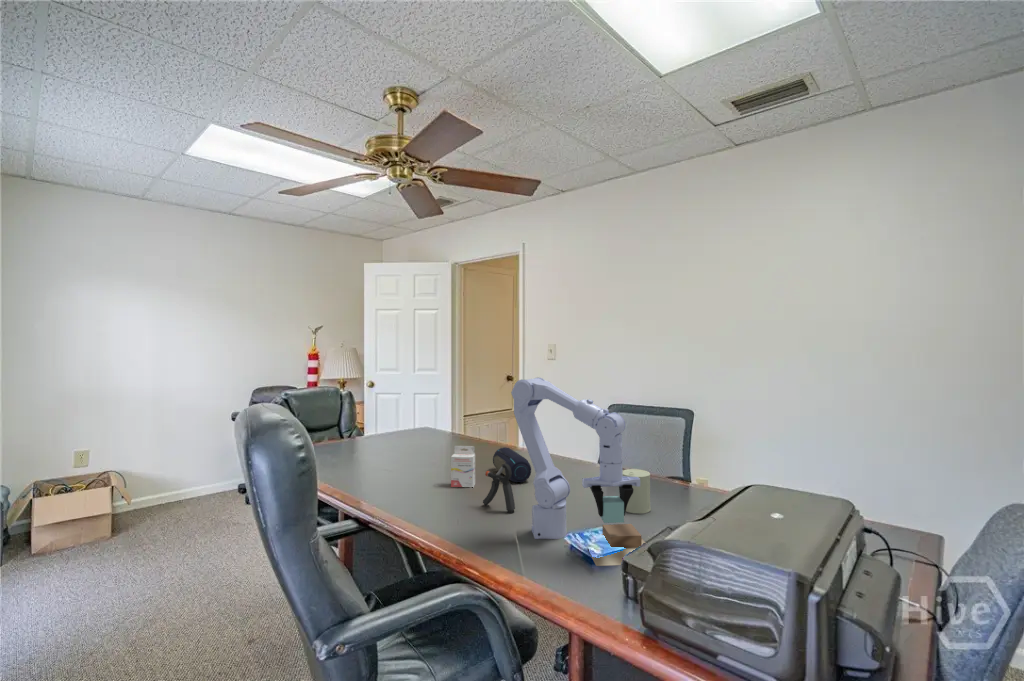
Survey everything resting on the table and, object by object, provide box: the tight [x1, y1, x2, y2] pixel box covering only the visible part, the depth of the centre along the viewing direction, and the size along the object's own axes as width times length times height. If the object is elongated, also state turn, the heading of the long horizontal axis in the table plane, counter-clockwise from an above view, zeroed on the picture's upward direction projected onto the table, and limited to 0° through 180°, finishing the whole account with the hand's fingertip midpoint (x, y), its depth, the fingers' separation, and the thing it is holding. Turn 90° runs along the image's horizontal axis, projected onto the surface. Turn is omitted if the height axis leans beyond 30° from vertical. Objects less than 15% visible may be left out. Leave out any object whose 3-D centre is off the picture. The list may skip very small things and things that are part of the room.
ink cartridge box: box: [450, 445, 476, 488], centre depth 180 cm, size 9×5×15 cm, turn 84°
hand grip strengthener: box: [482, 463, 516, 514], centre depth 155 cm, size 2×12×15 cm, turn 51°
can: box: [623, 468, 652, 515], centre depth 154 cm, size 9×9×12 cm
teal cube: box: [600, 495, 625, 524], centre depth 122 cm, size 5×5×5 cm
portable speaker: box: [492, 447, 532, 483], centre depth 193 cm, size 25×10×10 cm, turn 19°
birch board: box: [591, 538, 646, 567], centre depth 122 cm, size 16×18×1 cm
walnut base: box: [601, 523, 643, 548], centre depth 126 cm, size 8×8×3 cm
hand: (611, 514), depth 122 cm, fingers closed on teal cube, 5 cm apart
